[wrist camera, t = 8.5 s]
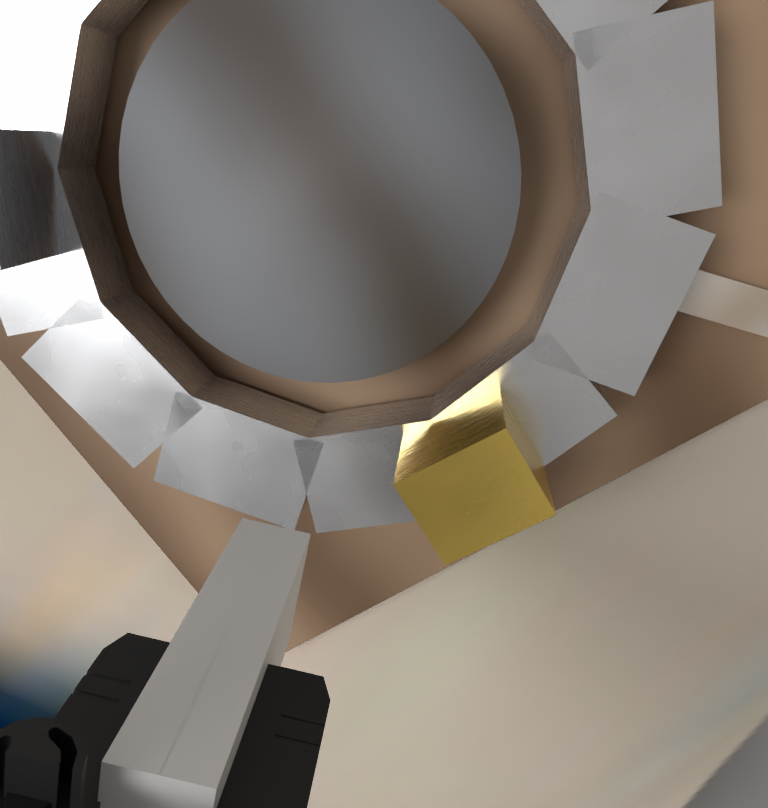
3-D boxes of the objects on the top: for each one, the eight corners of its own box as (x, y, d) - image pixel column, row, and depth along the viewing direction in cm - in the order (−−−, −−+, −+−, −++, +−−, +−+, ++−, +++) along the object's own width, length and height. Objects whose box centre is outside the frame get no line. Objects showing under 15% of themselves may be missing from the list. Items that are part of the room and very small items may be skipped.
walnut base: (273, 630, 28) (239, 717, 24) (-187, 75, 22) (-337, 59, 18) (901, 291, 21) (1010, 327, 17) (466, -606, 16) (467, -878, 12)
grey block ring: (709, 451, 21) (780, 538, 16) (119, 528, 24) (37, 620, 20) (665, -363, 15) (756, -591, 10) (-111, -125, 18) (-309, -219, 14)
